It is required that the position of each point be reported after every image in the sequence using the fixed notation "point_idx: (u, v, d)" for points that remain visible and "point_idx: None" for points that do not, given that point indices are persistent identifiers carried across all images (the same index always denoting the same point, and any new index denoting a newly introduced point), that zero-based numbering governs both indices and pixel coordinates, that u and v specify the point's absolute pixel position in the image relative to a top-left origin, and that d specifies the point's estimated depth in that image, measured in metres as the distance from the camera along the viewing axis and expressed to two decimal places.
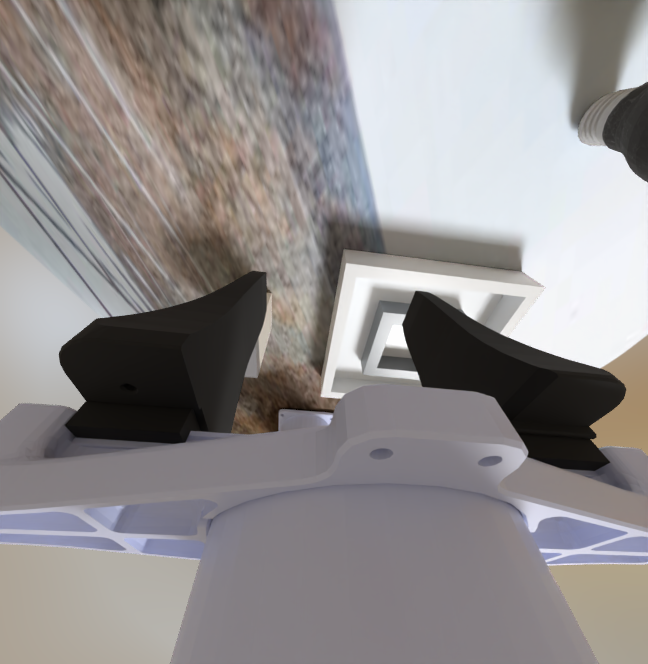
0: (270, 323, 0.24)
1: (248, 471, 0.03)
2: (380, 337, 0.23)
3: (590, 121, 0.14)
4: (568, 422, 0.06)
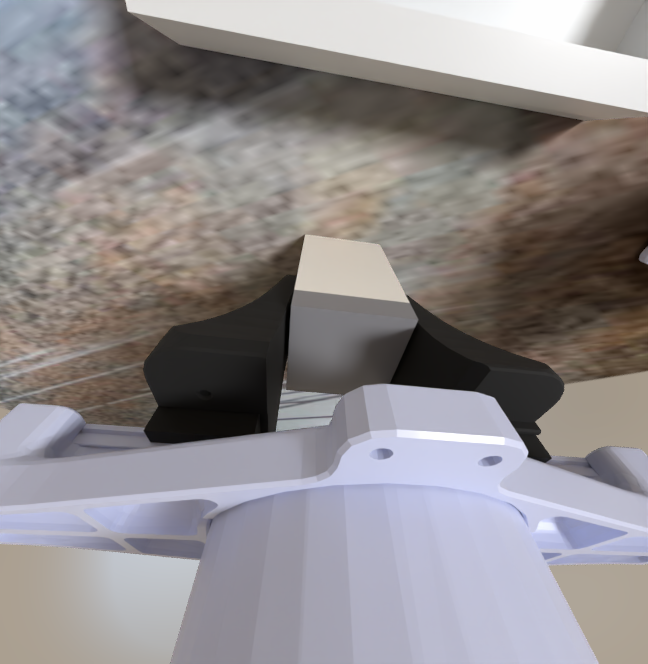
0: (362, 247, 0.13)
1: (248, 471, 0.03)
2: None
3: None
4: (512, 417, 0.06)
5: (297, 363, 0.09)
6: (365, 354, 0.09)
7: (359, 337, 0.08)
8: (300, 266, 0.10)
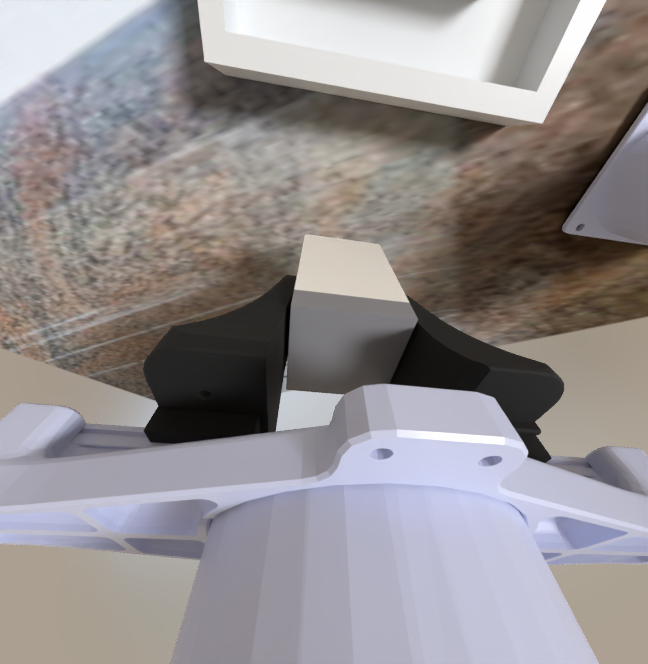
0: (362, 246, 0.13)
1: (248, 471, 0.03)
2: None
3: None
4: (512, 417, 0.06)
5: (297, 363, 0.09)
6: (365, 353, 0.09)
7: (359, 337, 0.08)
8: (300, 266, 0.10)
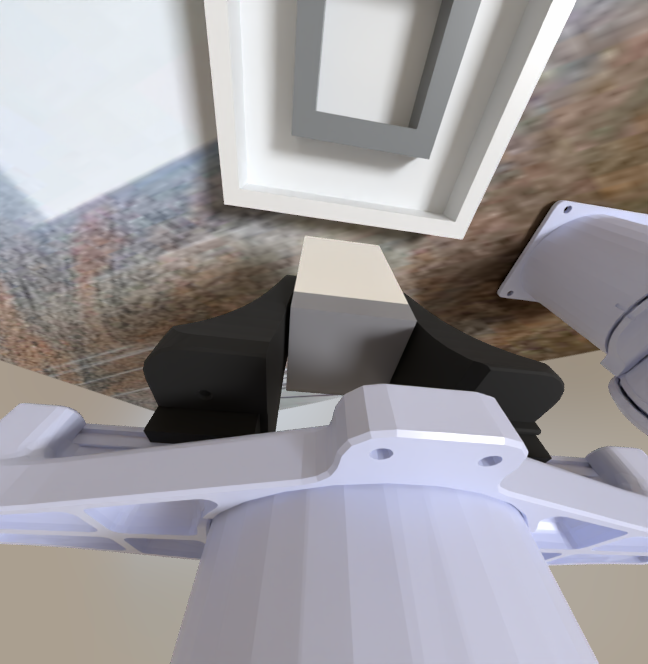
0: (362, 248, 0.13)
1: (248, 471, 0.03)
2: (342, 132, 0.14)
3: None
4: (512, 418, 0.06)
5: (297, 364, 0.09)
6: (364, 355, 0.09)
7: (358, 338, 0.08)
8: (300, 268, 0.10)
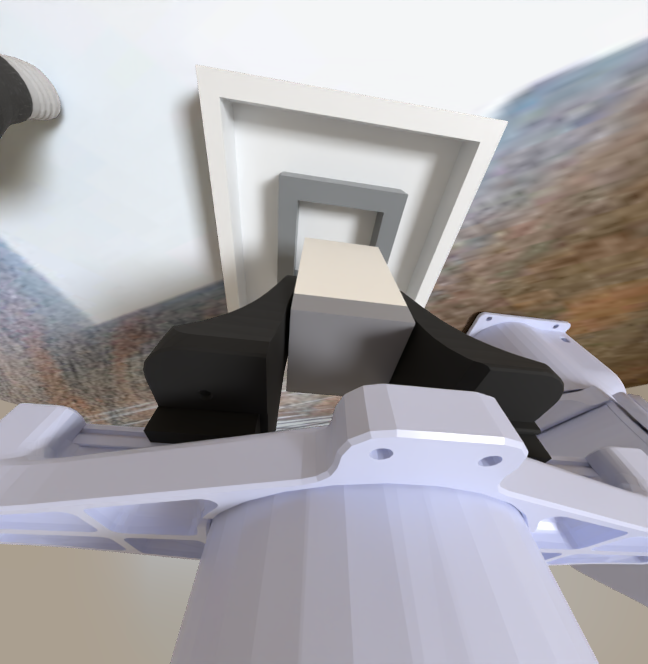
0: (361, 250, 0.13)
1: (248, 471, 0.03)
2: None
3: (40, 118, 0.14)
4: (512, 417, 0.06)
5: (297, 365, 0.09)
6: (363, 356, 0.09)
7: (357, 340, 0.08)
8: (300, 270, 0.10)
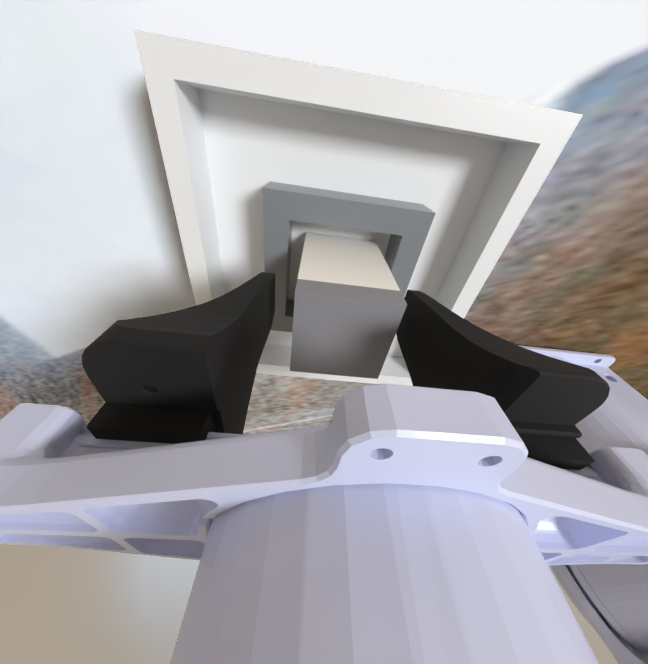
0: (359, 242, 0.14)
1: (248, 471, 0.03)
2: None
3: None
4: (553, 421, 0.06)
5: (300, 345, 0.10)
6: (361, 336, 0.10)
7: (355, 321, 0.09)
8: (302, 259, 0.11)
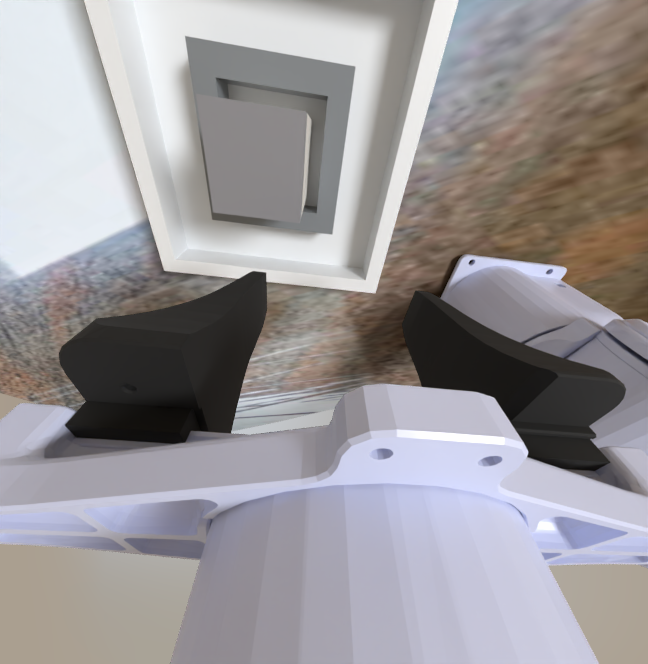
0: None
1: (248, 471, 0.03)
2: None
3: None
4: (568, 422, 0.06)
5: (216, 174, 0.11)
6: (271, 159, 0.10)
7: (261, 136, 0.10)
8: None
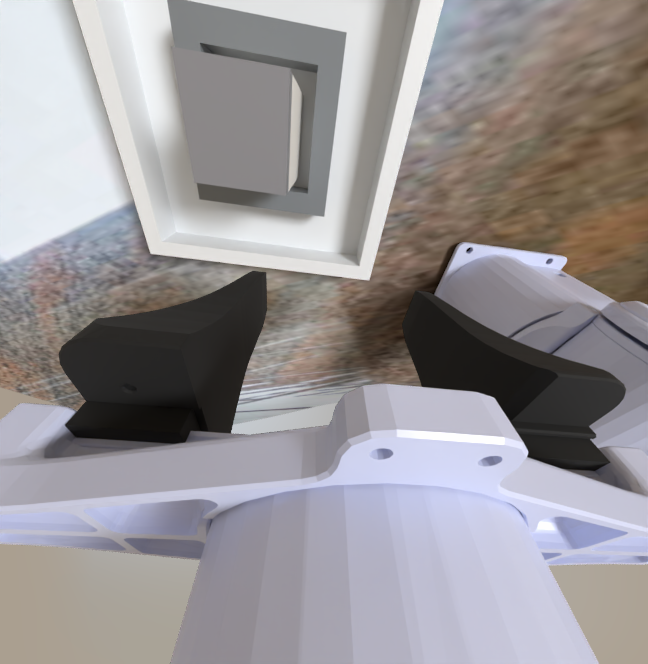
0: None
1: (248, 471, 0.03)
2: (243, 197, 0.16)
3: None
4: (568, 422, 0.06)
5: (195, 139, 0.10)
6: (253, 123, 0.10)
7: (243, 97, 0.09)
8: None
